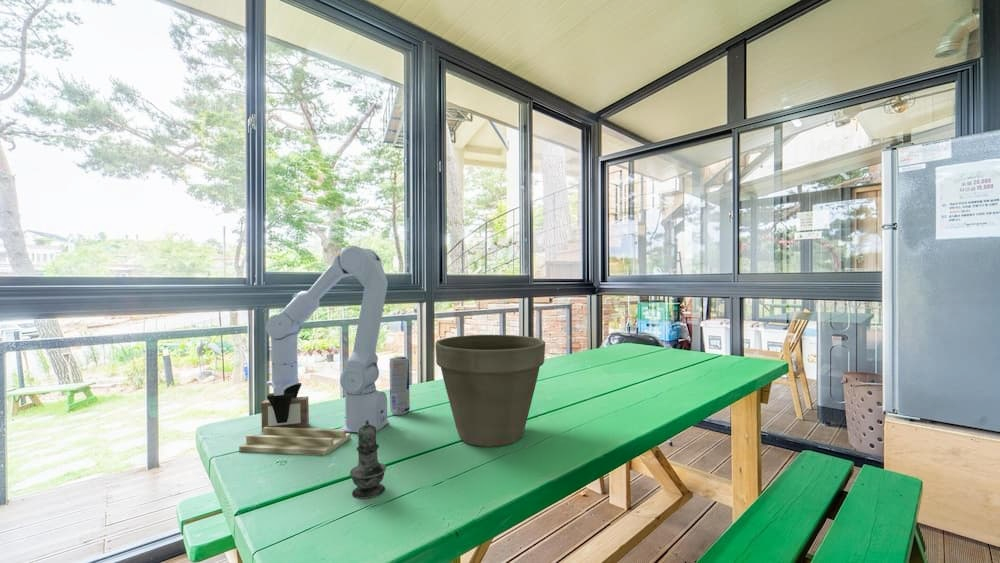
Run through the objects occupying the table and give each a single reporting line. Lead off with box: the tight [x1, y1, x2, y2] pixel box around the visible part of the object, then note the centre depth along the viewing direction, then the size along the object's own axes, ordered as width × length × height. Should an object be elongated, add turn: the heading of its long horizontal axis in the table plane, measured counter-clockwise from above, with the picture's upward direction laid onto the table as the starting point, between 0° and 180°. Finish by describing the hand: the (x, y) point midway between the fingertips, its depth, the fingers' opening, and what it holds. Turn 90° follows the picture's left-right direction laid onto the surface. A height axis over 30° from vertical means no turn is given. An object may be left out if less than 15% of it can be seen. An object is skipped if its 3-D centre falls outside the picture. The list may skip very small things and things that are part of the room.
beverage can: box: [389, 356, 411, 416], centre depth 115 cm, size 5×5×15 cm
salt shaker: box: [349, 420, 387, 500], centre depth 71 cm, size 6×6×12 cm
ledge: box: [238, 427, 351, 456], centre depth 93 cm, size 20×10×2 cm, turn 80°
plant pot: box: [435, 334, 546, 448], centre depth 96 cm, size 25×25×22 cm
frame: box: [260, 395, 310, 433], centre depth 105 cm, size 10×3×7 cm, turn 105°
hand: (285, 417), depth 105 cm, fingers open, 7 cm apart
